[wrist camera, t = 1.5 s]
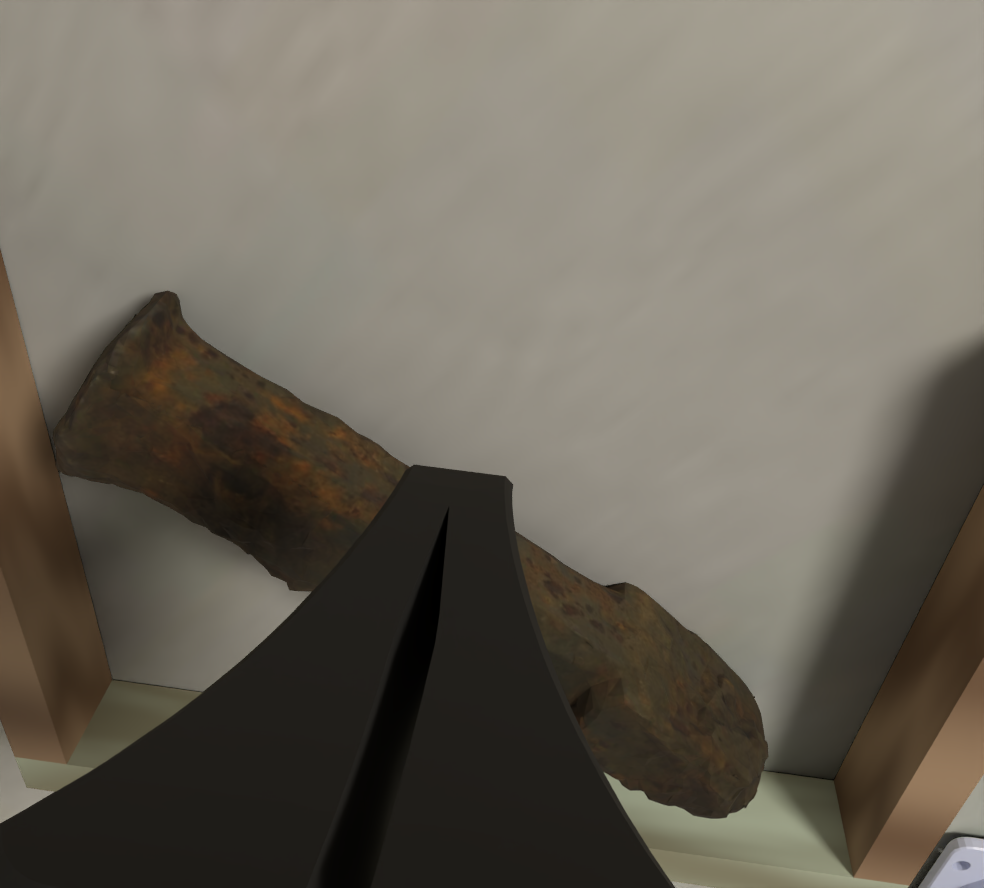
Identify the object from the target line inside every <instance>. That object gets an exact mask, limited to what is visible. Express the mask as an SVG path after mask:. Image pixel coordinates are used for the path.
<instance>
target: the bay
mask: <svg viewBox="0 0 984 888" xmlns="http://www.w3.org/2000/svg"><path fill="white" fill-rule="evenodd" d="M55 464H56V462H55V458H54V454H53V450H52V446H51V442H50V439H49V435H48V431H47V427H46V423H45V419H44V416H43V412H42V408H41V404H40V400H39V396H38V392H37V389H36V385H35V381H34V377H33V373H32V369H31V366H30V362H29V358H28V354H27V350H26V346H25V343H24V339H23V335H22V331H21V327H20V323H19V319H18V316H17V312H16V308H15V304H14V300H13V296H12V293H11V289H10V285H9V281H8V277H7V273H6V270H5V266H4V262H3V258H2V254H1V250H0V720H1V722H2V725H3V727H4V730H5V733H6V735H7V738H8V740H9V743H10V746H11V748H12V751H13V753H14V756H15V758H16V761H17V764H18V766H19V769H20V771H21V774H22V777H23V779H24V782H25V784H26V787H27V788H34V789H40V790H47V791H54V792H56V791H58V790H59V789H61V788H63V787H64V786H66V785H68V784H69V783H71V782H73V781H75V780H76V779H78V778H80V777H81V776H83V775H85V774H87V773H88V772H90V771H91V770H93V769H95V768H96V767H98V766H99V765H101V764H102V763H104V762H106V761H107V760H109V759H110V758H112V757H113V756H115V755H116V754H117V753H119V752H120V751H122V750H123V749H125V748H126V747H128V746H129V745H131V744H132V743H133V742H135V741H136V740H138V739H139V738H141V737H142V736H144V735H145V734H147V733H148V732H149V731H151V730H152V729H154V728H155V727H157V726H158V725H160V724H161V723H163V722H164V721H165V720H167V719H168V718H170V717H171V716H173V715H174V714H175V713H177V712H178V711H179V710H181V709H182V708H183V707H185V706H186V705H187V704H189V703H190V702H191V701H192V700H194V699H195V698H196V697H198V696H199V695H200V694H201V693H203V692H196V691H188V690H181V689H174V688H167V687H160V686H153V685H145V684H138V683H131V682H124V681H117V680H112V677H111V673H110V669H109V665H108V661H107V658H106V654H105V650H104V646H103V642H102V638H101V634H100V631H99V627H98V623H97V619H96V615H95V611H94V608H93V604H92V600H91V596H90V592H89V588H88V585H87V581H86V577H85V573H84V569H83V565H82V561H81V558H80V554H79V550H78V546H77V542H76V538H75V535H74V531H73V527H72V523H71V519H70V515H69V512H68V508H67V504H66V500H65V496H64V492H63V489H62V485H61V481H60V477H59V473H58V469H57V468H56V465H55ZM604 774H605V776H606V777H607V779H608V781H609V783H610V784H611V786H612V788H613V790H614V792H615V793H616V795H617V797H618V799H619V801H620V802H621V804H622V806H623V808H624V810H625V811H626V813H627V815H628V816H629V818H630V819H631V821H632V823H633V824H634V826H635V827H636V829H637V831H638V832H639V834H640V835H641V837H642V839H643V840H644V842H645V843H646V845H647V847H648V848H649V850H650V851H651V853H652V854H653V856H654V857H655V859H656V860H657V862H658V863H659V865H660V866H661V868H662V869H663V871H664V872H665V874H666V875H667V877H668V878H669V879H670V881H674V882H681V883H688V884H695V885H702V886H708V887H715V888H908V887H909V885H910V884H911V882H912V881H913V879H914V878H915V876H916V875H917V873H918V872H919V870H920V869H921V867H922V866H923V864H924V863H925V861H926V860H927V858H928V857H929V855H930V854H931V852H932V851H933V849H934V848H935V846H936V845H937V843H938V842H939V840H940V839H941V837H942V836H943V834H944V833H945V831H946V830H947V828H948V827H949V825H950V824H951V822H952V821H953V819H954V818H955V816H956V815H957V813H958V812H959V810H960V809H961V807H962V806H963V804H964V803H965V801H966V800H967V798H968V797H969V795H970V794H971V792H972V791H973V789H974V788H975V786H976V785H977V783H978V782H979V780H980V779H981V777H982V776H983V774H984V485H983V487H982V489H981V491H980V493H979V495H978V497H977V499H976V501H975V503H974V505H973V507H972V509H971V511H970V513H969V515H968V517H967V519H966V520H965V522H964V524H963V526H962V528H961V530H960V532H959V534H958V536H957V538H956V540H955V542H954V544H953V546H952V548H951V550H950V552H949V554H948V556H947V558H946V560H945V562H944V564H943V566H942V568H941V570H940V572H939V574H938V576H937V578H936V580H935V582H934V584H933V586H932V588H931V590H930V592H929V594H928V596H927V598H926V599H925V601H924V603H923V605H922V607H921V609H920V611H919V613H918V615H917V617H916V619H915V621H914V623H913V625H912V627H911V629H910V631H909V633H908V635H907V637H906V639H905V641H904V643H903V645H902V647H901V649H900V651H899V653H898V655H897V657H896V659H895V661H894V663H893V665H892V667H891V669H890V671H889V673H888V675H887V677H886V678H885V680H884V682H883V684H882V686H881V688H880V690H879V692H878V694H877V696H876V698H875V700H874V702H873V704H872V706H871V708H870V710H869V712H868V714H867V716H866V718H865V720H864V722H863V724H862V726H861V728H860V730H859V732H858V734H857V736H856V738H855V740H854V742H853V744H852V746H851V748H850V750H849V752H848V754H847V756H846V757H845V759H844V761H843V763H842V765H841V767H840V769H839V771H838V773H837V775H836V777H835V779H834V781H833V780H825V779H818V778H811V777H804V776H797V775H790V774H782V773H775V772H768V771H762V773H761V779H760V783H759V785H758V788H757V790H758V791H757V793H756V795H755V797H754V799H753V800H751V801H750V802H749V804H748V806H747V807H746V808H743V809H741V810H740V811H738V812H736V813H730V814H729V815H728V816H727V818H721V819H709V818H703V817H697V816H693V815H691V814H690V813H688V812H687V811H686V810H684V809H682V808H679V807H676V806H666V805H662V804H660V803H657V802H654V801H651V800H648V798H647V796H646V795H645V793H644V792H643V791H630V790H628V789H627V788H625V787H624V786H622V785H621V783H620V782H619V780H617V779H614V778H613V777H611V776H609V775H608V774H606V773H604Z"/></svg>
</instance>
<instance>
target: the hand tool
mask: <svg viewBox="0 0 984 888" xmlns="http://www.w3.org/2000/svg"><path fill="white" fill-rule="evenodd" d="M53 441H54V444H55V447H56V464H55V465H56V468H57V469H58V470H59V471H60V472H62V473H63V474H66V475H69V476H76V477H80V478H83V479H87V480H90V481H95V482H101V483H106V484H114V485H117V486H119V487H122V488H125V489H129V490H133V491H137V492H140V493H143V494H145V495H147V496H148V497H150V498H152V499H154V500H156V501H158V502H160V503H162V504H164V505H166V506H168V507H170V508H171V509H173V510H175V511H177V512H178V513H180V514H182V515H184V516H185V517H186V518H188V519H189V520H190V521H191V522H193V523H196V524H199V525H202V526H205V527H206V528H208V529H209V530H210V531H211V532H212V533H214V534H216V535H218V536H221V537H223V538H225V539H227V540H229V541H231V542H233V543H235V544H236V545H238V546H239V547H241V548H242V549H243V550H244V551H245V552H246V553H247V554H251V555H252V556H253V557H254V558H255V559H256V560H257V561H258V562H259V563H261V564H262V565H263V566H264V567H265V568H266V569H267V570H268V572H269V573H270V574H271V576H274V577H276V578H279V579H281V580H283V581H285V582H287V585H288V587H289V590H293V591H313V590H314V589H315V588H316V587H317V586H318V585H319V584H320V583H321V582H322V581H323V579H324V578H325V577H326V576H327V575H328V574H329V573H330V572H331V571H332V569H333V568H334V567H335V566H336V565H337V564H338V562H339V561H340V560H341V559H342V558H343V556H344V555H345V554H346V553H347V551H348V550H349V549H350V548H351V547H352V545H353V544H354V543H355V542H356V540H357V539H358V538H359V537H360V536H361V534H362V533H363V532H364V531H365V529H366V528H367V527H368V525H369V524H370V523H371V521H372V520H373V519H374V517H375V516H376V515H377V513H378V512H379V511H380V509H381V508H382V506H383V505H384V503H385V502H386V501H387V499H388V498H389V496H390V495H391V493H392V492H393V490H394V489H395V487H396V485H397V484H398V482H399V481H400V479H401V477H402V475H403V474H404V472H405V470H407V469H408V468H410V467H409V466H407V465H405V464H404V463H402V462H400V461H399V460H397V459H396V458H394V457H392V456H391V455H390V454H389V453H388V452H387V451H385V450H384V449H383V448H382V447H381V446H380V445H378V444H377V443H375V442H373V441H372V440H370V439H368V438H367V437H365V436H362V435H360V434H358V433H357V432H355V431H354V430H353V429H352V428H350V427H349V426H348V425H347V424H345V423H344V422H343V421H342V420H340V419H339V418H338V417H335V416H333V415H331V414H328V413H326V412H324V411H321V410H319V409H316V408H314V407H312V406H310V405H308V404H305V403H304V402H302V401H301V400H300V399H298V398H297V397H296V396H294V395H293V394H292V393H291V392H289V391H288V390H287V389H285V388H283V387H281V386H279V385H277V384H275V383H273V382H271V381H269V380H267V379H265V378H263V377H261V376H259V375H257V374H256V373H254V372H252V371H251V370H249V369H247V368H246V367H244V366H243V365H241V364H239V363H238V362H236V361H234V360H233V359H231V358H230V357H228V356H226V355H225V354H223V353H222V352H220V351H219V350H217V349H216V348H214V347H213V346H211V345H210V344H208V343H207V342H205V341H204V340H202V339H201V338H200V337H199V336H198V335H197V334H196V333H195V332H194V331H193V330H192V329H191V328H190V327H189V326H188V324H187V323H186V322H185V320H184V319H183V316H182V313H181V307H180V301H179V298H178V296H177V294H175V293H173V292H170V291H165V292H160V293H156V294H154V296H153V298H152V299H151V301H150V303H149V304H148V305H147V306H145V307H144V308H143V309H142V310H141V311H140V312H139V313H138V314H137V315H136V314H135V316H134V318H133V319H132V320H131V321H130V323H129V324H127V326H126V327H125V328H124V329H123V331H122V332H121V333H120V334H119V335H118V336H117V337H116V338H115V339H114V340H113V341H112V342H111V343H110V344H109V345H108V346H107V347H106V348H105V350H104V351H103V353H102V354H101V355H100V357H99V358H98V360H97V361H96V363H95V364H94V366H93V368H92V369H91V371H90V373H89V374H88V376H87V378H86V379H85V381H84V383H83V385H82V386H81V388H80V390H79V392H78V393H77V395H76V396H75V397H74V399H73V401H72V403H71V405H70V407H69V409H68V410H67V412H66V414H65V415H64V416H63V418H62V419H61V420H60V422H59V423H58V425H57V426H56V428H55V429H54V431H53ZM515 534H516V539H517V545H518V551H519V555H520V560H521V564H522V568H523V572H524V576H525V580H526V583H527V587H528V591H529V595H530V599H531V602H532V605H533V609H534V612H535V615H536V618H537V622H538V625H539V627H540V630H541V633H542V636H543V639H544V642H545V645H546V648H547V651H548V653H549V656H550V658H551V661H552V664H553V666H554V669H555V671H556V674H557V676H558V679H559V681H560V684H561V686H562V688H563V691H564V693H565V695H566V697H567V700H568V702H569V704H570V707H571V709H572V711H573V713H574V715H575V717H576V720H577V722H578V724H579V726H580V728H581V730H582V732H583V734H584V736H585V738H586V740H587V742H588V744H589V746H590V748H591V750H592V752H593V754H594V756H595V758H596V759H597V761H598V763H599V765H600V767H601V768H602V770H603V772H604V773H606V774H608V775H609V776H611V777H613V778H614V779H617V780H619V782H620V783H621V785H622V786H624V787H625V788H627V789H628V790H630V791H643V792H644V793H645V795H646V796H647V798H648V800H651V801H654V802H657V803H660V804H662V805H666V806H676V807H679V808H682V809H684V810H686V811H687V812H688V813H690V814H691V815H693V816H697V817H703V818H709V819H721V818H727V816H728V815H729V814H730V813H736V812H738V811H740V810H741V809H743V808H746V807H747V806H748V804H749V802H750V801H751V800H753V799H754V797H755V795H756V793H757V791H758V790H757V788H758V785H759V783H760V779H761V773H762V771H763V769H764V763H765V760H766V759H767V758H768V744H767V742H766V741H765V736H764V730H763V724H762V717H761V713H760V710H759V708H758V705H757V703H756V701H755V699H754V698H755V697H753V695H752V693H751V692H750V690H749V689H748V687H747V686H746V685H745V683H744V682H743V681H742V680H741V678H740V677H739V676H738V675H737V674H736V673H735V672H734V671H733V670H732V669H731V668H730V667H729V666H728V665H727V664H726V663H725V662H724V661H723V660H722V659H721V658H720V657H719V656H718V654H717V653H716V652H715V651H714V650H713V649H712V648H711V647H710V646H709V645H708V644H707V643H705V642H704V641H703V640H702V639H701V638H700V637H699V636H698V635H697V634H695V633H693V632H691V631H689V630H687V629H686V628H685V627H683V626H682V625H681V624H680V623H679V622H678V621H677V620H676V619H675V618H674V617H673V616H671V615H670V614H669V613H668V612H667V611H666V610H665V609H664V608H662V607H661V606H660V605H659V604H658V603H657V602H656V601H654V600H653V599H652V598H651V597H650V596H649V595H647V594H646V593H645V592H644V591H642V590H641V589H639V588H638V587H636V586H634V585H631V584H629V583H620V584H616V585H611V586H608V587H604V586H602V585H600V584H598V583H595V582H593V581H592V580H590V579H588V578H587V577H585V576H583V575H581V574H580V573H578V572H576V571H575V570H573V569H571V568H570V567H568V566H566V565H564V564H563V563H562V562H560V561H559V560H558V559H556V558H555V557H554V556H552V555H551V554H550V553H548V552H547V551H545V550H543V549H542V548H540V547H539V546H537V545H536V544H534V543H533V542H531V541H529V540H528V539H526V538H525V537H523V536H522V535H520V534H519V533H517V532H516V531H515Z"/></svg>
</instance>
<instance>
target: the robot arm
mask: <svg viewBox="0 0 984 888" xmlns="http://www.w3.org/2000/svg"><path fill="white" fill-rule="evenodd" d="M512 489H513V484H512V483H511V482H510V481H509V480H508V478H507V477H506V476H499V475H491V474H483V473H475V472H467V471H459V470H452V469H444V468H436V467H428V466H420V465H413V466H411V467H410V468H408V469H407V470H405V472H404V474H403V475H402V477H401V479H400V481H399V482H398V484H397V485H396V487H395V489H394V490H393V492H392V493H391V495H390V496H389V498H388V499H387V501H386V502H385V503H384V505H383V506H382V508H381V509H380V511H379V512H378V513H377V515H376V516H375V517H374V519H373V520H372V521H371V523H370V524H369V525H368V527H367V528H366V529H365V531H364V532H363V533H362V534H361V536H360V537H359V538H358V539H357V540H356V542H355V543H354V544H353V545H352V547H351V548H350V549H349V550H348V551H347V553H346V554H345V555H344V556H343V558H342V559H341V560H340V561H339V562H338V564H337V565H336V566H335V567H334V568H333V569H332V571H331V572H330V573H329V574H328V575H327V576H326V577H325V578H324V579H323V581H322V582H321V583H320V584H319V585H318V586H317V587H316V588H315V589H314V590H313V591H312V592H311V593H310V594H309V596H308V597H307V598H306V599H305V600H304V601H303V602H302V603H301V604H300V605H299V606H298V607H297V608H296V610H295V611H294V612H293V613H292V614H291V615H290V616H289V617H288V618H287V619H286V620H285V621H284V622H283V623H281V624H280V625H279V626H278V627H277V628H276V629H275V630H274V631H273V632H272V633H271V634H270V635H269V636H268V637H267V638H266V639H265V640H264V641H263V642H261V643H260V644H259V645H258V646H257V647H256V648H255V649H254V650H253V651H251V652H250V653H249V654H248V655H247V656H246V657H245V658H244V659H243V660H241V661H240V662H239V663H238V664H237V665H236V666H234V667H233V668H232V669H231V670H230V671H228V672H227V673H226V674H225V675H223V676H222V677H221V678H220V679H219V680H217V681H216V682H215V683H214V684H212V685H211V686H210V687H209V688H207V689H206V690H205V691H204V692H203V693H201V694H200V695H199V696H198V697H196V698H195V699H194V700H192V701H191V702H190V703H189V704H187V705H186V706H185V707H183V708H182V709H181V710H179V711H178V712H177V713H175V714H174V715H173V716H171V717H170V718H168V719H167V720H165V721H164V722H163V723H161V724H160V725H158V726H157V727H155V728H154V729H152V730H151V731H149V732H148V733H147V734H145V735H144V736H142V737H141V738H139V739H138V740H136V741H135V742H133V743H132V744H131V745H129V746H128V747H126V748H125V749H123V750H122V751H120V752H119V753H117V754H116V755H115V756H113V757H112V758H110V759H109V760H107V761H106V762H104V763H102V764H101V765H99V766H98V767H96V768H95V769H93V770H91V771H90V772H88V773H87V774H85V775H83V776H81V777H80V778H78V779H76V780H75V781H73V782H71V783H69V784H68V785H66V786H64V787H63V788H61V789H59V790H58V791H56V792H54V793H52V794H51V795H49V796H47V797H46V798H44V799H42V800H40V801H39V802H37V803H35V804H34V805H32V806H30V807H29V808H27V809H25V810H23V811H22V812H20V813H18V814H16V815H15V816H13V817H11V818H9V819H7V820H6V821H4V822H2V823H0V888H675V887H674V885H673V884H672V882H671V881H670V879H669V878H668V877H667V875H666V874H665V872H664V871H663V869H662V868H661V866H660V865H659V863H658V862H657V860H656V859H655V857H654V856H653V854H652V853H651V851H650V850H649V848H648V847H647V845H646V843H645V842H644V840H643V839H642V837H641V835H640V834H639V832H638V831H637V829H636V827H635V826H634V824H633V823H632V821H631V819H630V818H629V816H628V815H627V813H626V811H625V810H624V808H623V806H622V804H621V802H620V801H619V799H618V797H617V795H616V793H615V792H614V790H613V788H612V786H611V784H610V783H609V781H608V779H607V777H606V776H605V774H604V772H603V770H602V768H601V767H600V765H599V763H598V761H597V759H596V758H595V756H594V754H593V752H592V750H591V748H590V746H589V744H588V742H587V740H586V738H585V736H584V734H583V732H582V730H581V728H580V726H579V724H578V722H577V720H576V717H575V715H574V713H573V711H572V709H571V707H570V704H569V702H568V700H567V697H566V695H565V693H564V691H563V688H562V686H561V684H560V681H559V679H558V676H557V674H556V671H555V669H554V666H553V664H552V661H551V658H550V656H549V653H548V651H547V648H546V645H545V642H544V639H543V636H542V633H541V630H540V627H539V625H538V622H537V618H536V615H535V612H534V609H533V605H532V602H531V599H530V595H529V591H528V587H527V583H526V580H525V576H524V572H523V568H522V564H521V560H520V555H519V551H518V545H517V539H516V534H515V527H514V519H513V509H512ZM918 888H984V839H980V838H973V837H959V838H955V839H953V840H951V841H950V842H949V843H948V844H947V846H946V847H945V849H944V850H943V852H942V853H941V855H940V856H939V858H938V859H937V860H936V862H935V863H934V865H933V866H932V868H931V869H930V871H929V872H928V874H927V875H926V877H925V878H924V880H923V881H922V883H921V884H920V885H919V887H918Z"/></svg>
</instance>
